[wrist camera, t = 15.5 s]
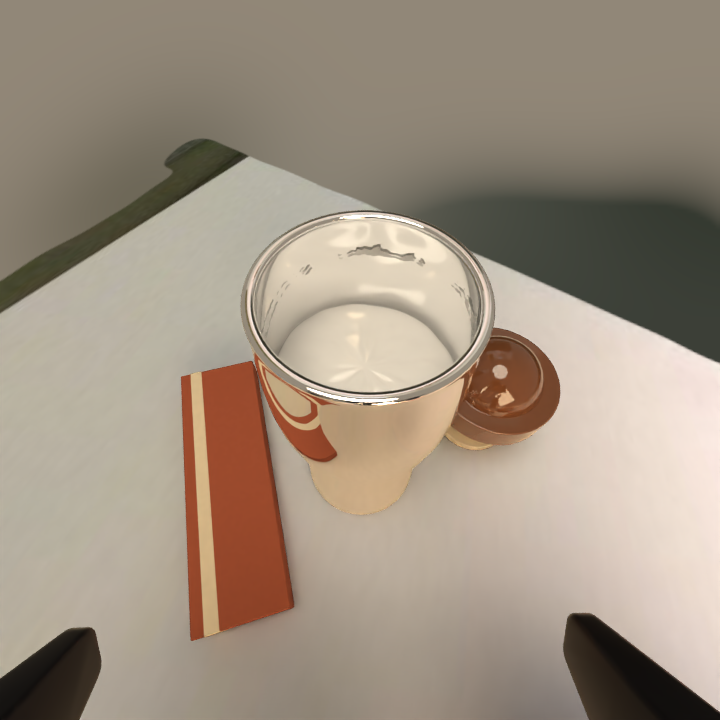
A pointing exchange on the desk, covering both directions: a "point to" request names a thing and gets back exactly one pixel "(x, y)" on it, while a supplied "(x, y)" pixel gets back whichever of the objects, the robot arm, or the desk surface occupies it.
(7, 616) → the desk surface
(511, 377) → the mushroom
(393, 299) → the beer glass
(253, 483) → the striped reddish-brown bar
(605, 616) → the desk surface
